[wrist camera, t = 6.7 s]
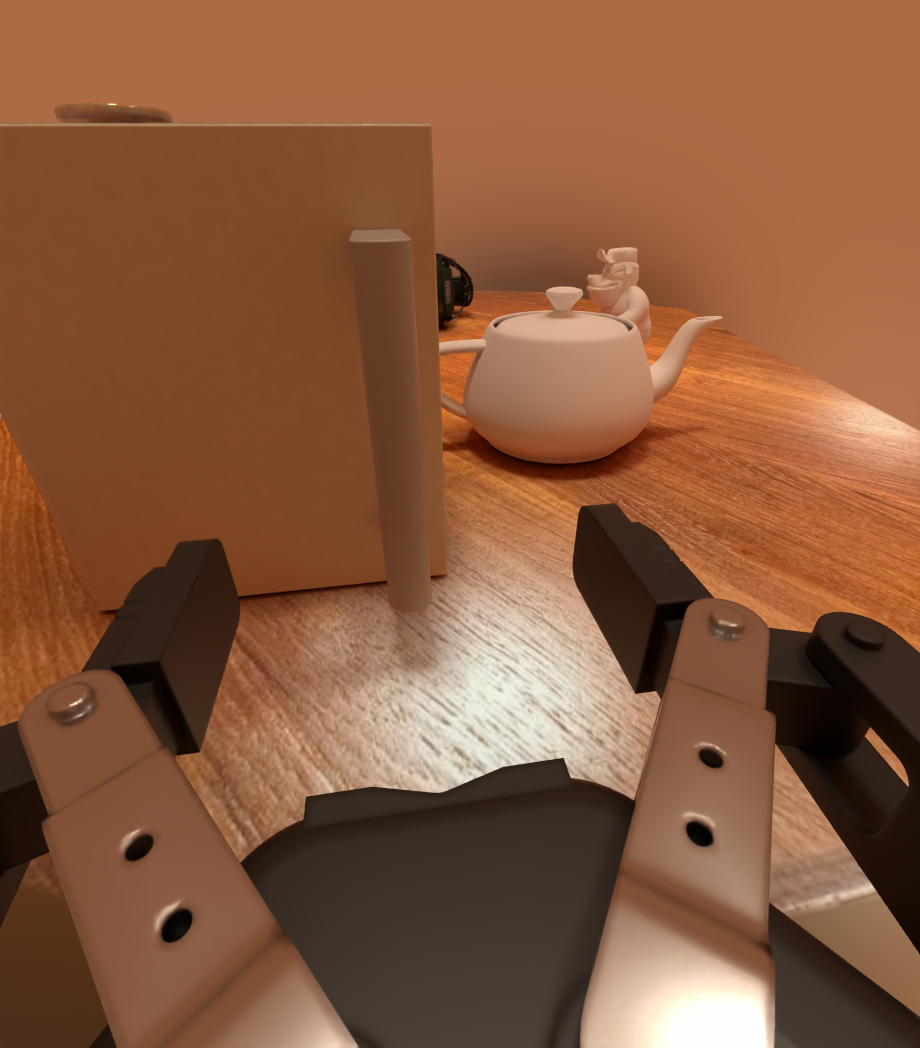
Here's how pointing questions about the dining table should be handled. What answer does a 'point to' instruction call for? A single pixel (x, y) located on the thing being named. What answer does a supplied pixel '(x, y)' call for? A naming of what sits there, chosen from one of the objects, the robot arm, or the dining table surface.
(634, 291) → the figurine
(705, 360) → the dining table surface
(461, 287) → the headphones
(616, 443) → the teapot
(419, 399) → the peach cabinet door
